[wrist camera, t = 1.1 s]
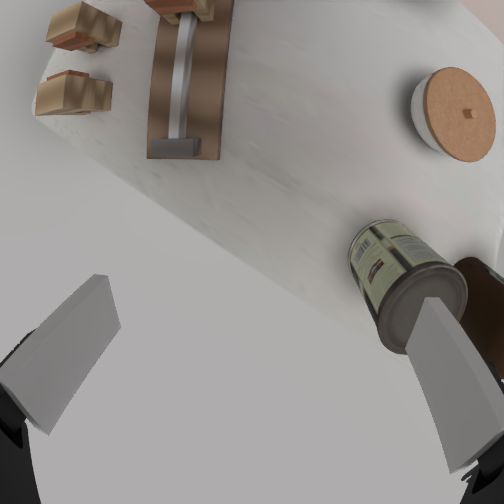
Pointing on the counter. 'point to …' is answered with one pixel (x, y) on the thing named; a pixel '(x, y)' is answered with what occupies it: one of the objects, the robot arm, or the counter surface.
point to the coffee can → (401, 279)
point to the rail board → (189, 86)
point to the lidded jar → (454, 114)
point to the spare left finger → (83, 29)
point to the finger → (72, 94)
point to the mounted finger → (183, 9)
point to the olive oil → (484, 311)
